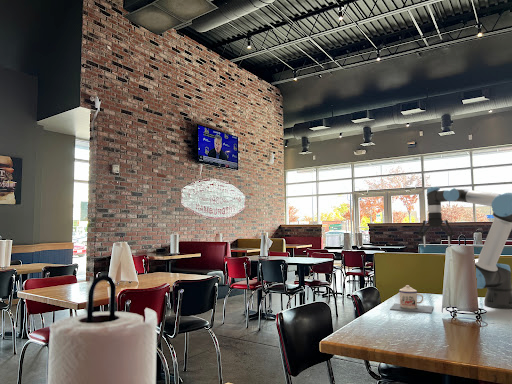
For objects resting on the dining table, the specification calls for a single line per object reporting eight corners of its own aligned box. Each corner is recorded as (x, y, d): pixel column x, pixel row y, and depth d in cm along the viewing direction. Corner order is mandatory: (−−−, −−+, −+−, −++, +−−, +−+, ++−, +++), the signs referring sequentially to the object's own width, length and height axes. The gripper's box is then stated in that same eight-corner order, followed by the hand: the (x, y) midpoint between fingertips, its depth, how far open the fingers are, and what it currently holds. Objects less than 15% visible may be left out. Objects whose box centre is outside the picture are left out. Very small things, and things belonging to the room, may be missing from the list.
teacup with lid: (399, 308, 204) (398, 286, 205) (399, 305, 212) (398, 283, 213) (424, 310, 200) (422, 287, 201) (423, 306, 208) (422, 284, 209)
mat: (433, 307, 208) (433, 306, 208) (431, 313, 194) (431, 312, 194) (394, 304, 218) (394, 303, 218) (389, 309, 204) (389, 308, 204)
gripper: (457, 211, 234) (460, 246, 232) (413, 213, 246) (415, 246, 244) (457, 211, 228) (460, 247, 225) (412, 212, 239) (414, 247, 237)
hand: (436, 247), depth 234 cm, fingers open, 13 cm apart
